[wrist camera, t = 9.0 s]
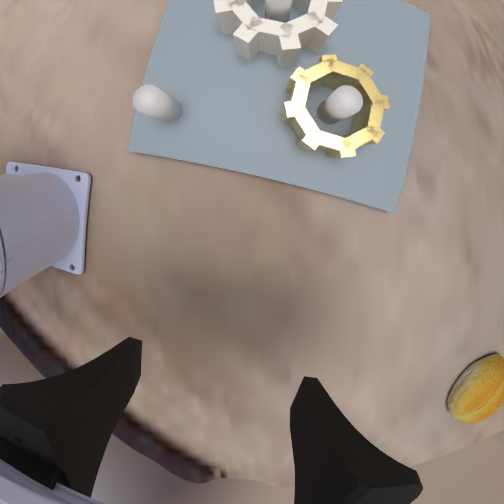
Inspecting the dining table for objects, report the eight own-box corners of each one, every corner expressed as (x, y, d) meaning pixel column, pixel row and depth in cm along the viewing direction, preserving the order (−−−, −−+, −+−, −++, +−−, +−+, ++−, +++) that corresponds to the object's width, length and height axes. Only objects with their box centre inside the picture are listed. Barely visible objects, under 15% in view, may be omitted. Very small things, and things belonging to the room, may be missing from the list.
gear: (210, 55, 16) (200, 36, 13) (236, -24, 14) (232, -50, 11) (319, 78, 17) (330, 62, 13) (336, -4, 15) (348, -27, 11)
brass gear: (273, 143, 18) (275, 139, 15) (292, 62, 16) (298, 44, 13) (357, 166, 18) (376, 168, 15) (375, 88, 16) (395, 76, 13)
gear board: (133, 151, 19) (92, 150, 14) (192, -38, 15) (175, -80, 9) (387, 210, 20) (426, 229, 15) (423, 19, 15) (459, -8, 10)
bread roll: (491, 338, 23) (512, 359, 20) (506, 376, 25) (522, 394, 21) (433, 392, 25) (448, 417, 21) (456, 420, 27) (469, 442, 23)
